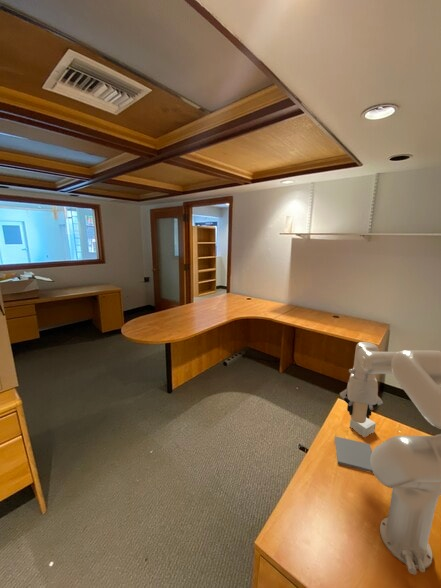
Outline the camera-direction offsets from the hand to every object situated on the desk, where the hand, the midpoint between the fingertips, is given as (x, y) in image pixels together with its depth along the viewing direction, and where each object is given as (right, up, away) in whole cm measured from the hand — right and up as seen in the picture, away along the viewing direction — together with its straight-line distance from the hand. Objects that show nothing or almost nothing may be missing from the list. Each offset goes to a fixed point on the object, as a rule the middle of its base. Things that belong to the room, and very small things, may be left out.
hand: (358, 414), depth 100 cm
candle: (0, -2, 0) cm, 2 cm away
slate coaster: (+1, -19, +4) cm, 20 cm away
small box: (+12, -17, +19) cm, 28 cm away
